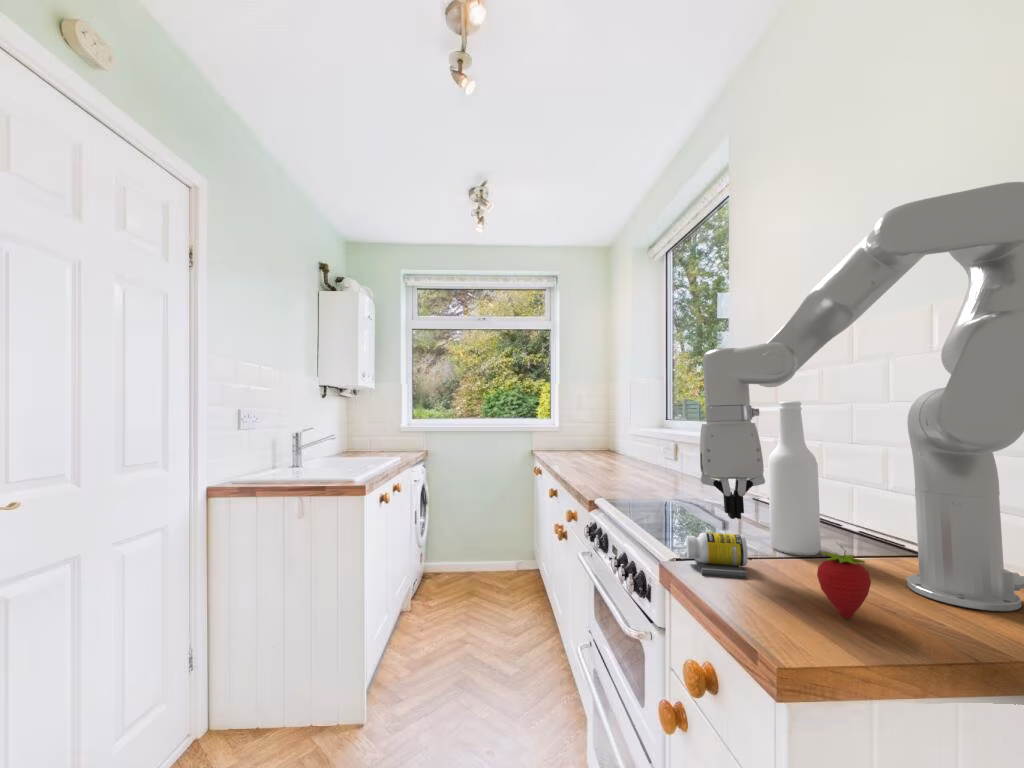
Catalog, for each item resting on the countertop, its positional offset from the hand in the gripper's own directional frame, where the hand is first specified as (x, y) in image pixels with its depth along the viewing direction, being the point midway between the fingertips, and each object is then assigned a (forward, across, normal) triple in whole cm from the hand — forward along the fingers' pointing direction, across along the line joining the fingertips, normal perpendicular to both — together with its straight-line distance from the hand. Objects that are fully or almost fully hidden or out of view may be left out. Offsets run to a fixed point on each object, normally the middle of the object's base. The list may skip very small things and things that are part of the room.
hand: (734, 517), depth 86 cm
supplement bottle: (+6, -2, 0) cm, 6 cm away
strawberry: (+10, -9, +19) cm, 23 cm away
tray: (+9, +3, 0) cm, 9 cm away
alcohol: (+9, -14, -14) cm, 22 cm away
